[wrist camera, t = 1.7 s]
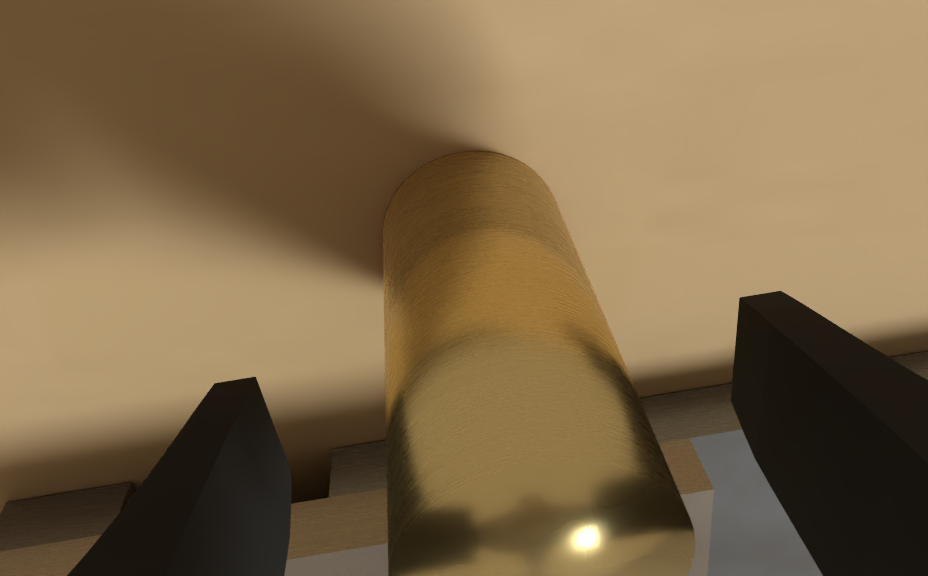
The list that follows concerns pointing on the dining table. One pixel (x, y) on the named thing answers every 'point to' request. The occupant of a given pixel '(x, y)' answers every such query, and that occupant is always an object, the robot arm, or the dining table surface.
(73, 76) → the dining table surface
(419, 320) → the pin
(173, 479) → the robot arm
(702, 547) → the gray slotted block
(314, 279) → the dining table surface
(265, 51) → the dining table surface
